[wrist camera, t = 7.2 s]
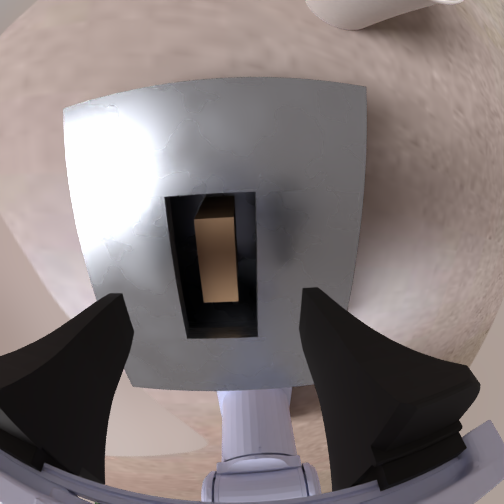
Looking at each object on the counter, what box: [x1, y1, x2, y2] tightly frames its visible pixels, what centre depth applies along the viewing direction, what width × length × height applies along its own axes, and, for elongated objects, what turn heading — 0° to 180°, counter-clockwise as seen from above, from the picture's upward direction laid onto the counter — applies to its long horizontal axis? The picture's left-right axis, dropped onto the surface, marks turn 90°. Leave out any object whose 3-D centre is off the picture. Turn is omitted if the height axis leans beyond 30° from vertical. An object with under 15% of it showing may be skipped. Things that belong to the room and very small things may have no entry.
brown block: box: [194, 196, 238, 303], centre depth 17 cm, size 5×2×5 cm, turn 2°
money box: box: [63, 77, 367, 391], centre depth 16 cm, size 18×14×7 cm
